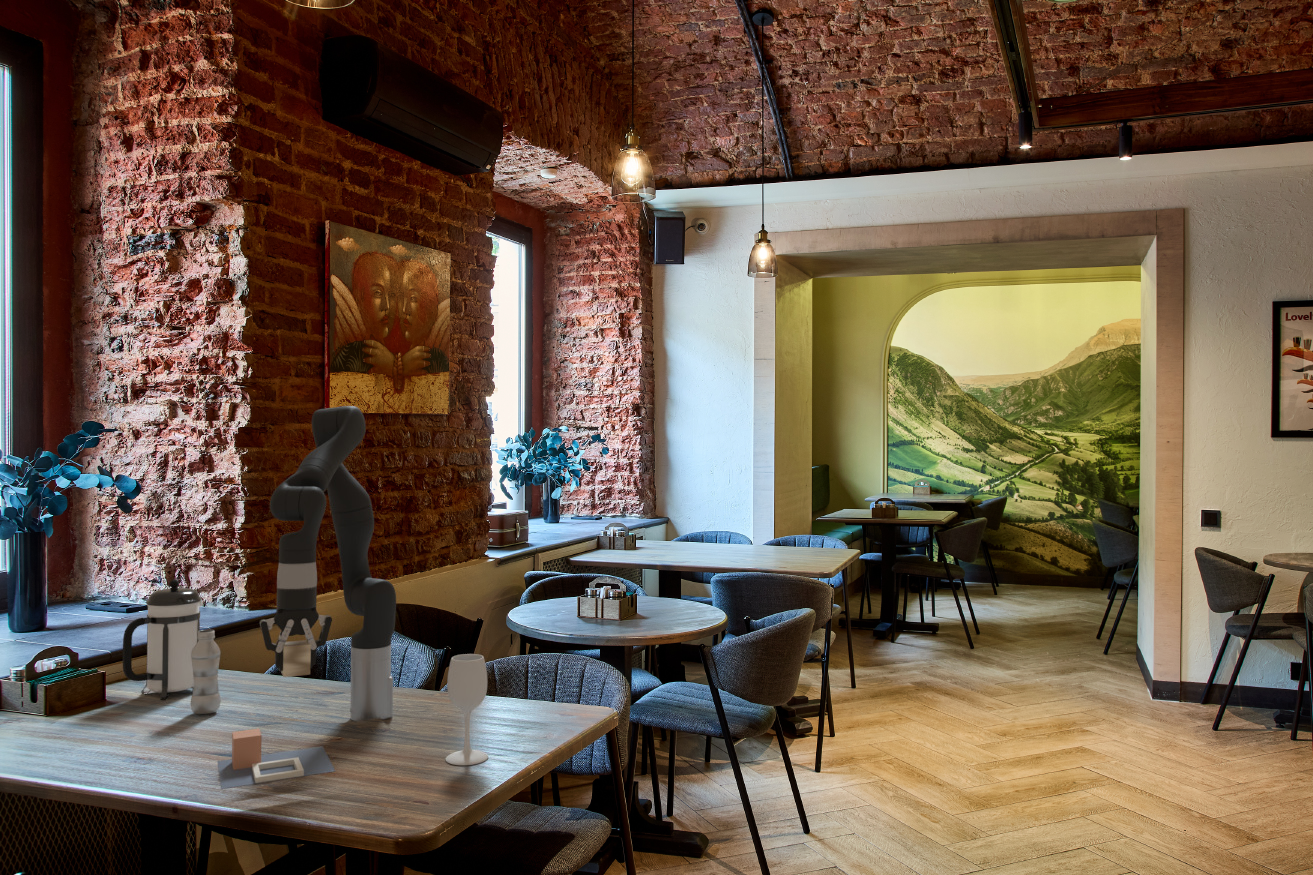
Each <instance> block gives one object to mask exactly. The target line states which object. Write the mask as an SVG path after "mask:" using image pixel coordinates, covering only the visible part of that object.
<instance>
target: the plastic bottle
mask: <svg viewBox="0 0 1313 875" xmlns="http://www.w3.org/2000/svg"><path fill="white" fill-rule="evenodd" d="M215 632H216V631H215V630H214V629H202V630H201V629H200V631H198V637H197V639H198V640H199V641H198V643H197V644H196V645H195V646H194V648H193V649H192V652H191V658H192V666H193V675H194V677H193V679H194V682H193V689H192V695H191V698H190V704H189V705H190V711H191V712H192V713H193V714H197V715H209V714H212V713H215V712H216V713H217V711H218V710H219V709H220V707H221V702H222V700H221V695H220V692H219V691H220V690H219V665H220V660H221V648H220V647H219V644H217V642H216V641H215V640H214V639H215V638H216V635H215Z"/></svg>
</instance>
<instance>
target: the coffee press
mask: <svg viewBox="0 0 1313 875" xmlns="http://www.w3.org/2000/svg"><path fill="white" fill-rule="evenodd" d="M179 585H180V581H179V580H177V579H172V580H170V581H169V586H170V588H163V589H159V590H158V589H157V590H156V591H154V592H152V593H151V594H150V595H149V597H148V599H147V600H145V601H146V602H145V604H146V606H147V615H146V617H138V618H136V619H134V620H132V621H131V622H130V623H129V624H127V627H126V628H125V631H124V633H123V639H122V670H123V674H124V675H125V677H126V678H127V679H128V680H130V681H133V682H144V681H146V684H145V686H144V687H143V689H142V690H141V695H143V694H144V693H147V694H146V695H148V694H149V693H150V692H154V693H159V694H160V701H167V700H168V698H169V695H170V694H171V693H174V692H181V691H186V690H189V689H192V690H193V682H194V679H193V677H194V675H193V666H192V658H191V652H192V649H193V648H194V646H195V645H196V644H197V643H198V641H199V640H198V639H197V637H198V631H201V628H200V626H201V621H200V620H201V611H200V607H203V606H204V603H203V600H202V597H201V596H200V594H199V592H198V591H197V590H195V589H193V588H188V587H187V588H186V587H179ZM146 624H147V629H146V637H147V639H146V670H145V672H146V673H145V672H144V673H138V674H136V673H135V672H134V671H133V668H132V661H133V660H132V659H133V658H132V652H133V650H132V648H133V646H132V645H133V644H132V643H133V634H134V632H135V631H136V629H137V628H139V627H140V626H143V625H146ZM146 688H147V689H148V690H149V691H148V692H145V689H146ZM166 699H167V700H166Z"/></svg>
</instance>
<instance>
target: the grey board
mask: <svg viewBox="0 0 1313 875" xmlns="http://www.w3.org/2000/svg"><path fill="white" fill-rule="evenodd" d="M217 765H218V766H217V767H218V773H219V781H220V787H221V790H223V789H231V788H236V787H237V788H238V787H242V786H249V785H250V786H251V785H258V784H263V783H264V784H265V783H269V782H275V781H281V780H288V779H296V778H301V777H302V778H303V777H307V776H316V775H319V774H320V775H321V774H328V773H333V772H336V770H335V768H334V765H333V764H332V762H331V760H330V758H329V756H328V754H327V751H326V750H325V748H324V746H316V747H315V746H314V747H310V748H309V747H308V748H302V749H301V748H300V749H294V750H287V751H280V752H279V751H278V752H271V753H266V754H261V763H256V764H252V767H250V768H243V769H236V770H233V765H232V758H230V759H224V760H218V761H217Z"/></svg>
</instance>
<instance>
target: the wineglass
mask: <svg viewBox="0 0 1313 875" xmlns="http://www.w3.org/2000/svg"><path fill="white" fill-rule="evenodd" d="M446 682H447V683H446V684H447V695H448V698H449V701H450V703H451V704H452V705H453V706H454V707H456V708H457V709H459V710H460V711H461V712H463V717H464V742H463V748H462V750H458V751H454V752H452V753H450V754H449V755H447V756H446V757H445V762H446V763H448V764H450V765H453V766H471V765H478V764H481V763H483V762H486V761H487V760H488V759H489V755H488V754H487V753H486V752H484V751H482V750H479V749H478V750H477V749H472V748H471V739H470V738H471V737H470V736H471V735H470V723H471V714H472V712H473V710H475V709H476V708H478V707H479V706H480V705H481V704H482V703H483V701H484V700H485V698H486V695H487V691H488V672H487V666H486V661H485V658H484V655H481V654H478V653H477V654H475V653H467V654H466V653H465V654H464V653H463V654H457V655H454V656H452V657H451V659H450V662H449V668H448V672H447V681H446Z"/></svg>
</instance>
